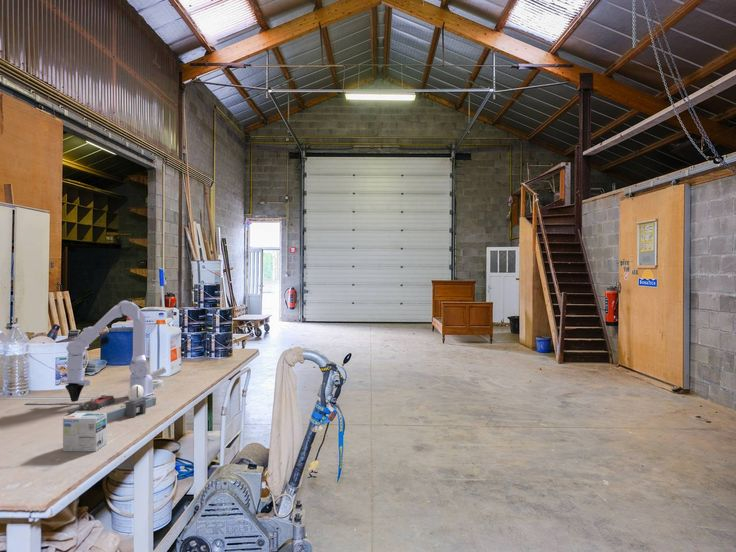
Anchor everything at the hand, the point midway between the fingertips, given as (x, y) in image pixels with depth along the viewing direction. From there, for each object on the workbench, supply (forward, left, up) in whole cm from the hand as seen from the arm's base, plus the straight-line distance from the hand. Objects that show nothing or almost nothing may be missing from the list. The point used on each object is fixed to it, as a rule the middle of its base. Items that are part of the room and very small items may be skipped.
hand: (74, 401), depth 194 cm
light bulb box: (+32, +46, -2) cm, 56 cm away
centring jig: (0, +26, -2) cm, 26 cm away
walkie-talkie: (0, +10, -2) cm, 10 cm away
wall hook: (-37, +7, -2) cm, 38 cm away
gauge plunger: (0, +31, -1) cm, 31 cm away
